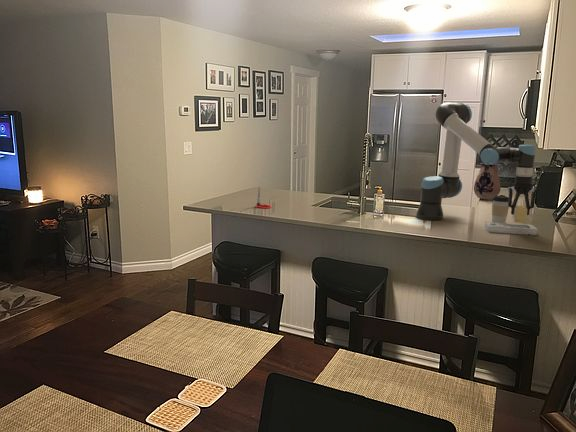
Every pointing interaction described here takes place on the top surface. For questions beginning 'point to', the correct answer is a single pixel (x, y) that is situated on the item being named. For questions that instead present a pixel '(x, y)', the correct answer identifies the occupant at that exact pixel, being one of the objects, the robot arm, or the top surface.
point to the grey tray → (510, 228)
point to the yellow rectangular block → (520, 214)
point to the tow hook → (260, 204)
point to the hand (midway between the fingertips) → (519, 221)
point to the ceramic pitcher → (487, 182)
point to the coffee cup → (499, 209)
